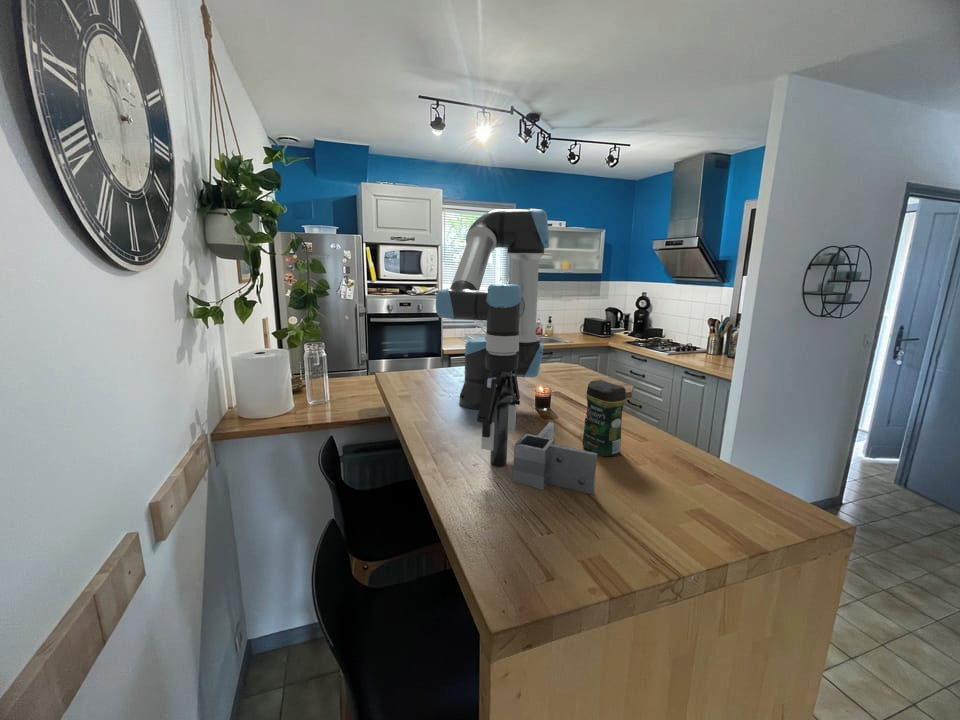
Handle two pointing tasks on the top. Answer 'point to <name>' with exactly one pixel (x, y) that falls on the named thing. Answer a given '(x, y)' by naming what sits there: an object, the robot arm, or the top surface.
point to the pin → (501, 431)
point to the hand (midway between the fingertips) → (499, 438)
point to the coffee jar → (604, 418)
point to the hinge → (552, 463)
